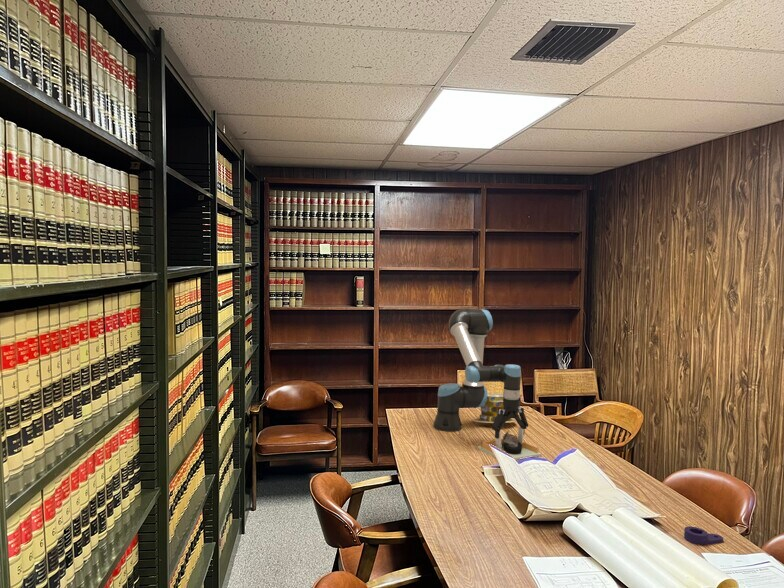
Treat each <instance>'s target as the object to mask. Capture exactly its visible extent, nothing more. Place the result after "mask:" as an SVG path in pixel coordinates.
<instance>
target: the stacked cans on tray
mask: <svg viewBox="0 0 784 588" xmlns="http://www.w3.org/2000/svg"><path fill="white" fill-rule="evenodd" d="M503 398H504V397H503V394H495V393H494V394H489V393H487V401H486V403H485V405H484V406H483V407H480V414H479V418H477V417H476V418H473V419H471V421H472V422H476V423H482V424H484V423H486V424H488V423H489V424H493V423H494V421H495V419H496V416H497V413H498V409H501V410H503V409H504V406H503ZM514 422H516V423H517V421H516V420H515V418H511V419H508V420H507V421H506V422H505V424H506V423H514Z"/></svg>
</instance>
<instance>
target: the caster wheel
mask: <svg viewBox="0 0 784 588" xmlns="http://www.w3.org/2000/svg"><path fill="white" fill-rule="evenodd" d="M502 439H503V441H502V448H504V450H505V451H506V452H508V453H510V454H519V453H521V451H522V445H521V443H519V442H518V436H516V435H514V434H512V433H509V430H507V432H506V433H505V434H504V435H503V436H502Z"/></svg>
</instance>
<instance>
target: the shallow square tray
mask: <svg viewBox="0 0 784 588" xmlns="http://www.w3.org/2000/svg"><path fill="white" fill-rule="evenodd" d="M502 441H503V438H501V446H498V445H496V439H494V440H493V439H492V440H486V441H481V442H480V445H478V446H477V450H479V451H482V452H483V453H486V454H487V455H489V456H491V457H494V455H493V452H492V450H491V448H490V446H489V444H492V445H494V446H496V447H497V448H499V449H501V451H503V452H504V451H505V450H504V448H502ZM518 442H519V441H518ZM519 443H521V442H519ZM521 445H522V451H521V453H519V454H510V453H508V452H506V451H505V453H508V454H509V455H511V456H512V457H513V458H515V459H520V458H523V457H529V456H541V457H542V453H540V452H539V450H540V449H539V447H538V446H535V445H533V444H531V443H528V442H525V441H523V443H521Z"/></svg>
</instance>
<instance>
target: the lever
mask: <svg viewBox="0 0 784 588" xmlns="http://www.w3.org/2000/svg"><path fill="white" fill-rule="evenodd" d="M683 534H684V535H683V538H684V540H685V541H686V542H689V543H691V544H693V545H697V546H708V545H715V544H720V543H723V542H724V537H723V536H721V535H720V534H717V533H708V532H707V531H706V530H705V529H703V528H699V527H697V526H685V527H684V533H683Z"/></svg>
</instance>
